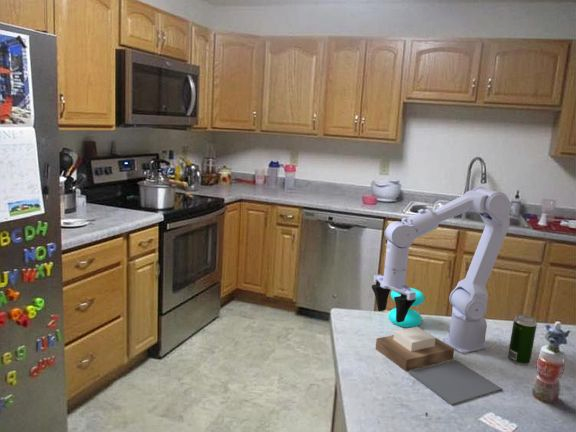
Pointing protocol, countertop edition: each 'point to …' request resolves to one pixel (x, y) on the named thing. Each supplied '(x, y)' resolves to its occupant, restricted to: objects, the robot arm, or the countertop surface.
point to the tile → (414, 338)
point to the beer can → (522, 339)
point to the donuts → (412, 316)
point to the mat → (454, 382)
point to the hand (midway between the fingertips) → (390, 315)
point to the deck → (414, 353)
